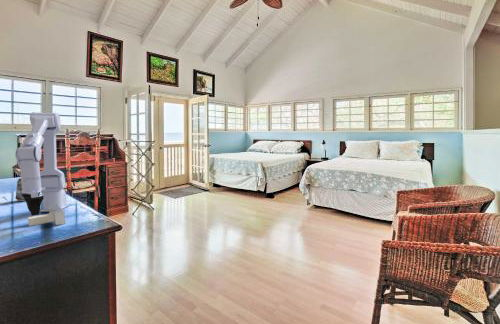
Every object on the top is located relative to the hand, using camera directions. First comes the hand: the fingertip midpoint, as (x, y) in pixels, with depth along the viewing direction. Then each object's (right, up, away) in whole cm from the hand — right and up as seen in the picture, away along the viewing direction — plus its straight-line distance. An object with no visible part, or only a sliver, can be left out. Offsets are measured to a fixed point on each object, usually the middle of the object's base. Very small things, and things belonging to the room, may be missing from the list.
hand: (34, 212), depth 103 cm
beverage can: (-35, -1, +38) cm, 51 cm away
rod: (+2, -5, +4) cm, 6 cm away
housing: (+5, -4, +6) cm, 8 cm away
